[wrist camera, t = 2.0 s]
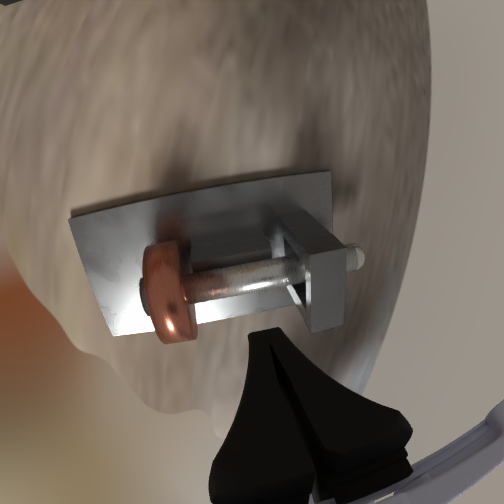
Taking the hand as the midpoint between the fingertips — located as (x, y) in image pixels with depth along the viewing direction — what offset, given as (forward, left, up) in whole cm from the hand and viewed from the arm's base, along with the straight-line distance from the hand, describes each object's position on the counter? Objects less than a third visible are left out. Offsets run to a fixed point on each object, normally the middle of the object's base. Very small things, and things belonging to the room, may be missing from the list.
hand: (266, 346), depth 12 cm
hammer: (0, -1, -9) cm, 9 cm away
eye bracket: (0, +2, -10) cm, 10 cm away
